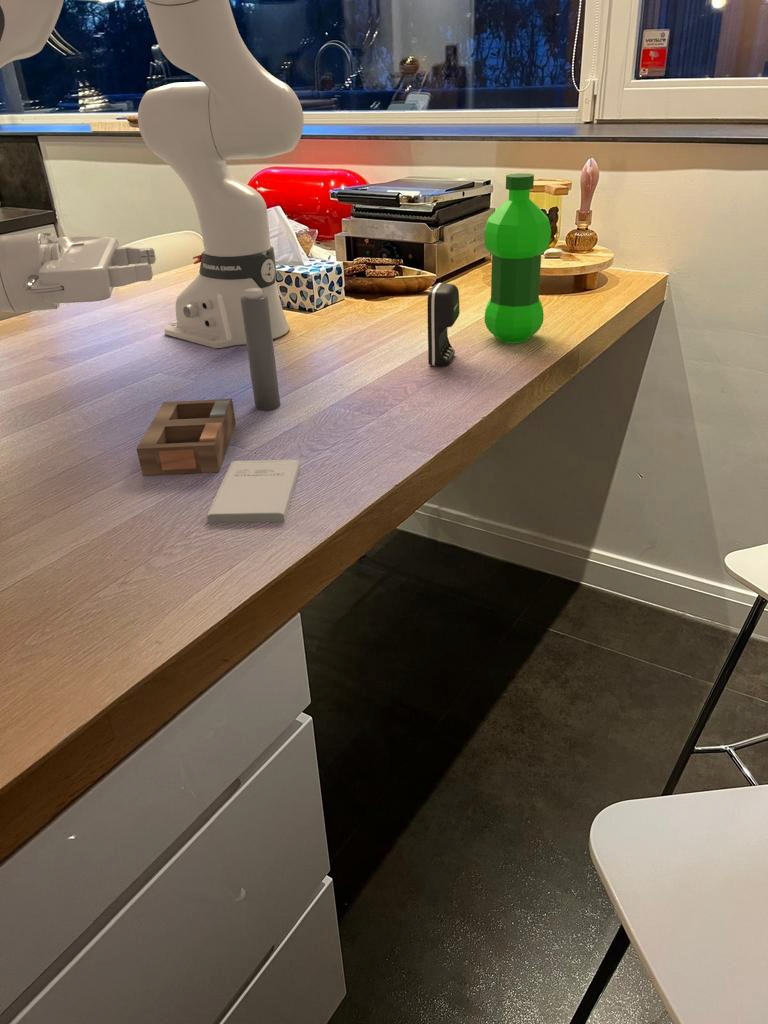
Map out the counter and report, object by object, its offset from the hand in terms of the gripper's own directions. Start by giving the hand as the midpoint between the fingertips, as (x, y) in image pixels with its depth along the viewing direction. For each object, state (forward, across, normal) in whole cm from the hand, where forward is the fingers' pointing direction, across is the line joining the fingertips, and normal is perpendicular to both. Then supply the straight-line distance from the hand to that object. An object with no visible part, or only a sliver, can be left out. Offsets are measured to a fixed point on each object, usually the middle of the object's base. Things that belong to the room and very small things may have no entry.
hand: (153, 263), depth 96 cm
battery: (+40, +10, +20) cm, 46 cm away
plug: (+12, 0, +20) cm, 24 cm away
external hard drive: (+8, -25, +22) cm, 34 cm away
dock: (+1, -10, +21) cm, 23 cm away
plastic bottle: (+54, +17, +20) cm, 60 cm away
